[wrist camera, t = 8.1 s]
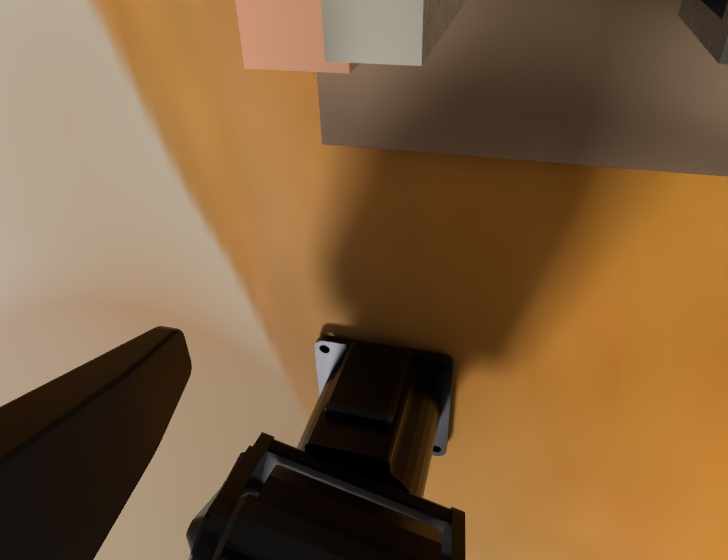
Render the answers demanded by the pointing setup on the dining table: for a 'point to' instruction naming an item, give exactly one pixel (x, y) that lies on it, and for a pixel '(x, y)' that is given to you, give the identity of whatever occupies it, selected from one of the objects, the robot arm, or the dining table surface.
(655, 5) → the grey base plate
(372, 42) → the tube
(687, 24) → the sleeve
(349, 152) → the dining table surface
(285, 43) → the socket block
